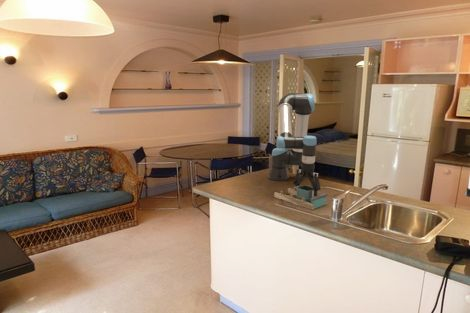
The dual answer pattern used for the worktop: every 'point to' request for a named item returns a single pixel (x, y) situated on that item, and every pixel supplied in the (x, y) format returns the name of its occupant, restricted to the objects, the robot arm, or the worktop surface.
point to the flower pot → (304, 192)
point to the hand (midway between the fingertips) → (305, 198)
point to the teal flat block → (319, 200)
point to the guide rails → (294, 199)
